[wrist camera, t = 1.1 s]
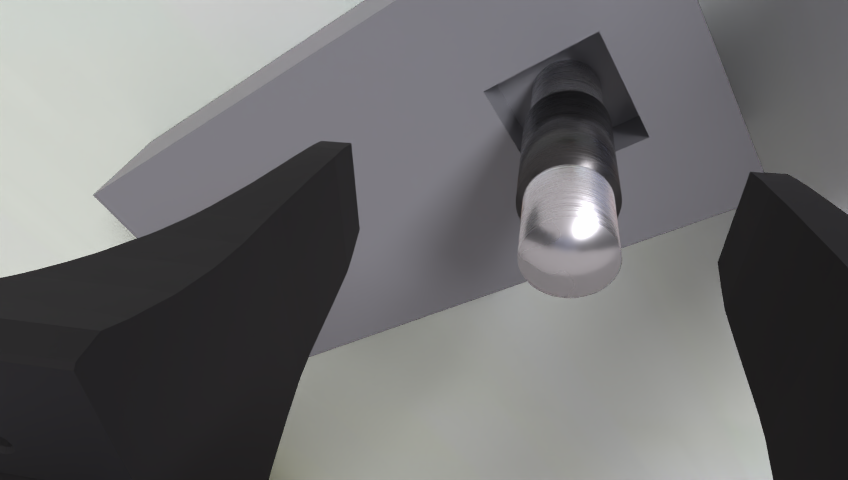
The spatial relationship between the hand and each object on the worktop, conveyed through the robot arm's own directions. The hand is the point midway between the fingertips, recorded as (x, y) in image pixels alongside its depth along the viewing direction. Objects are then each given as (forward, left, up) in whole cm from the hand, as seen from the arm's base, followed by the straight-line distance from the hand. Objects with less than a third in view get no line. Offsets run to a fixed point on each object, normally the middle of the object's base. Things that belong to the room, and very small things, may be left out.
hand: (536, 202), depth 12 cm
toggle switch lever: (-1, +1, -8) cm, 8 cm away
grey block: (+2, +6, -10) cm, 12 cm away
